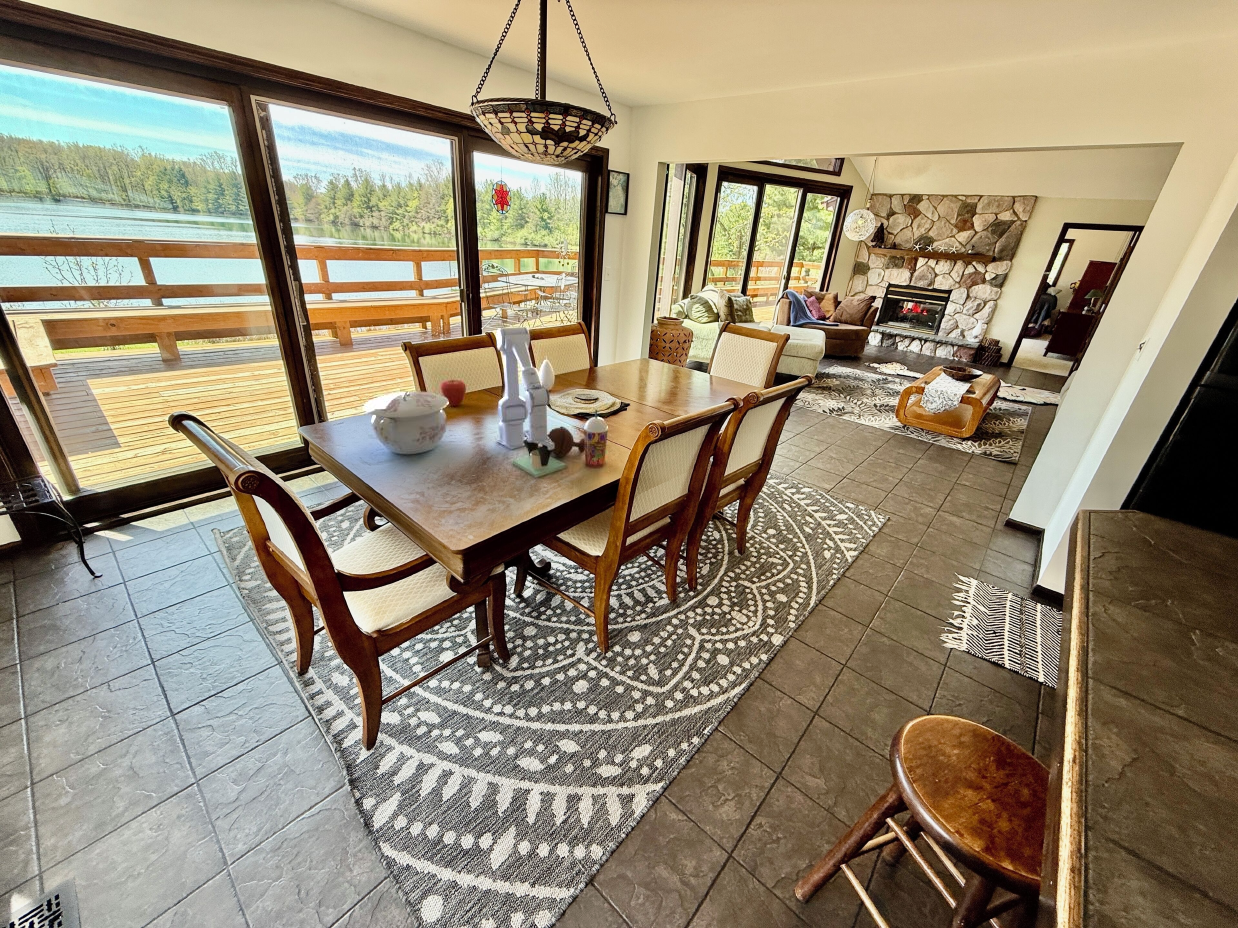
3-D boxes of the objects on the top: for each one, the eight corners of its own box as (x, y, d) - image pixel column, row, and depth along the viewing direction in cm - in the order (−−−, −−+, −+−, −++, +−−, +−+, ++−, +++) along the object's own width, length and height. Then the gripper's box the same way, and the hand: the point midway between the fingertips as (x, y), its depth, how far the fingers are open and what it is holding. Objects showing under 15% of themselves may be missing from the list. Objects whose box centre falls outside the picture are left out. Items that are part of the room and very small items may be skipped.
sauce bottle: (537, 391, 241) (536, 356, 234) (541, 387, 248) (541, 352, 241) (552, 393, 240) (551, 357, 233) (556, 389, 247) (556, 354, 239)
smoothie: (597, 471, 163) (599, 415, 155) (578, 464, 167) (578, 410, 159) (611, 462, 170) (613, 409, 161) (591, 456, 174) (593, 404, 165)
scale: (511, 463, 166) (511, 455, 165) (541, 453, 174) (541, 446, 173) (536, 477, 157) (536, 469, 156) (566, 467, 165) (566, 459, 164)
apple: (463, 409, 213) (460, 383, 207) (439, 408, 213) (435, 381, 207) (470, 401, 223) (468, 376, 217) (447, 400, 223) (444, 375, 217)
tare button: (533, 451, 169) (533, 447, 168) (540, 449, 171) (540, 445, 170) (538, 454, 167) (538, 449, 167) (545, 452, 169) (545, 447, 168)
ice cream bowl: (583, 464, 173) (544, 459, 166) (573, 452, 182) (536, 446, 175) (592, 438, 170) (552, 430, 162) (581, 427, 179) (544, 419, 171)
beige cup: (527, 466, 161) (527, 452, 159) (541, 461, 165) (540, 448, 163) (537, 471, 158) (536, 458, 156) (550, 467, 161) (550, 453, 159)
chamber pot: (431, 427, 192) (425, 377, 183) (467, 448, 175) (462, 394, 166) (358, 445, 173) (346, 389, 164) (390, 471, 157) (379, 410, 148)
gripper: (514, 420, 157) (516, 458, 163) (541, 433, 148) (542, 473, 154) (532, 416, 161) (533, 453, 167) (559, 428, 152) (559, 467, 158)
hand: (539, 462), depth 161 cm, fingers closed on beige cup, 6 cm apart
